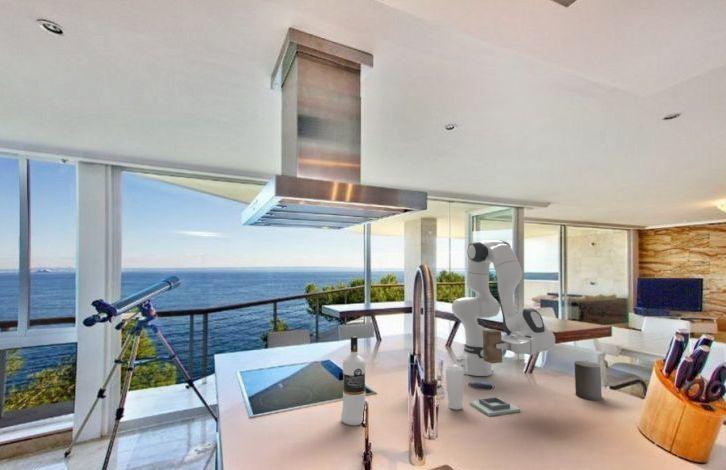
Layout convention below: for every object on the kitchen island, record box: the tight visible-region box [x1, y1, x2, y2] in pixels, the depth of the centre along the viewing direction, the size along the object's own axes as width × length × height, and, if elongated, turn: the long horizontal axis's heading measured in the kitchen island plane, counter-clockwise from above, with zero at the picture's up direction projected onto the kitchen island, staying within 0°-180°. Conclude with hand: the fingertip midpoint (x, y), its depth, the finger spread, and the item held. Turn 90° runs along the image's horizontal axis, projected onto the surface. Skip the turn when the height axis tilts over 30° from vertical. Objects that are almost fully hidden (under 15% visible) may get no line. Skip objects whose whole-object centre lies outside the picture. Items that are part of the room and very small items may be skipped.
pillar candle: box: [574, 360, 603, 401], centre depth 156 cm, size 10×10×15 cm
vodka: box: [340, 335, 366, 427], centre depth 132 cm, size 9×9×30 cm
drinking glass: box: [445, 365, 465, 411], centre depth 144 cm, size 7×7×15 cm
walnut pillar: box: [483, 329, 503, 365], centre depth 145 cm, size 5×5×12 cm
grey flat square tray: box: [469, 396, 521, 417], centre depth 143 cm, size 12×14×2 cm
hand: (490, 344), depth 145 cm, fingers closed on walnut pillar, 5 cm apart
